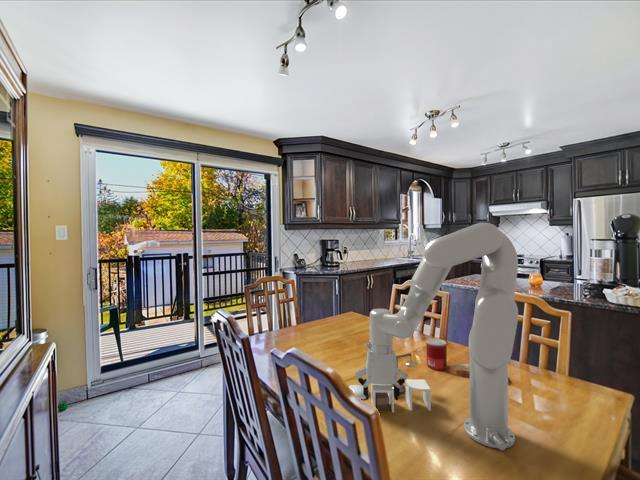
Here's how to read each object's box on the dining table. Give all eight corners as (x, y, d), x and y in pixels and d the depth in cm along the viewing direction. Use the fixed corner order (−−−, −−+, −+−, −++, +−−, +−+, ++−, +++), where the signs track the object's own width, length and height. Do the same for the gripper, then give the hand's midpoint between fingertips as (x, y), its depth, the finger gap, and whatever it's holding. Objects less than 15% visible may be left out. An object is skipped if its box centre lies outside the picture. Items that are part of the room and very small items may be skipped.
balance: (419, 393, 107) (419, 356, 106) (376, 393, 107) (376, 356, 107) (415, 385, 113) (414, 350, 112) (374, 385, 113) (374, 350, 113)
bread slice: (443, 370, 125) (443, 361, 125) (475, 363, 131) (475, 355, 131) (479, 391, 108) (479, 381, 108) (515, 382, 114) (515, 372, 114)
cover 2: (430, 411, 96) (430, 389, 96) (410, 410, 97) (410, 389, 96) (424, 399, 103) (424, 379, 103) (405, 399, 103) (405, 379, 103)
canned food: (448, 371, 123) (448, 345, 123) (428, 370, 125) (427, 344, 125) (444, 363, 131) (444, 338, 131) (425, 362, 132) (425, 337, 132)
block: (389, 410, 97) (389, 398, 97) (377, 410, 97) (376, 398, 97) (387, 403, 101) (387, 391, 101) (375, 403, 101) (375, 391, 101)
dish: (370, 400, 103) (370, 397, 103) (344, 400, 103) (344, 396, 103) (367, 387, 112) (367, 383, 112) (343, 386, 112) (343, 383, 112)
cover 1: (394, 412, 96) (393, 390, 96) (373, 412, 96) (373, 390, 96) (390, 401, 102) (389, 380, 102) (371, 400, 103) (370, 380, 103)
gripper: (355, 351, 96) (355, 403, 96) (410, 351, 95) (410, 404, 95) (354, 342, 103) (354, 391, 103) (404, 343, 102) (404, 392, 103)
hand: (381, 397), depth 99 cm, fingers open, 9 cm apart
